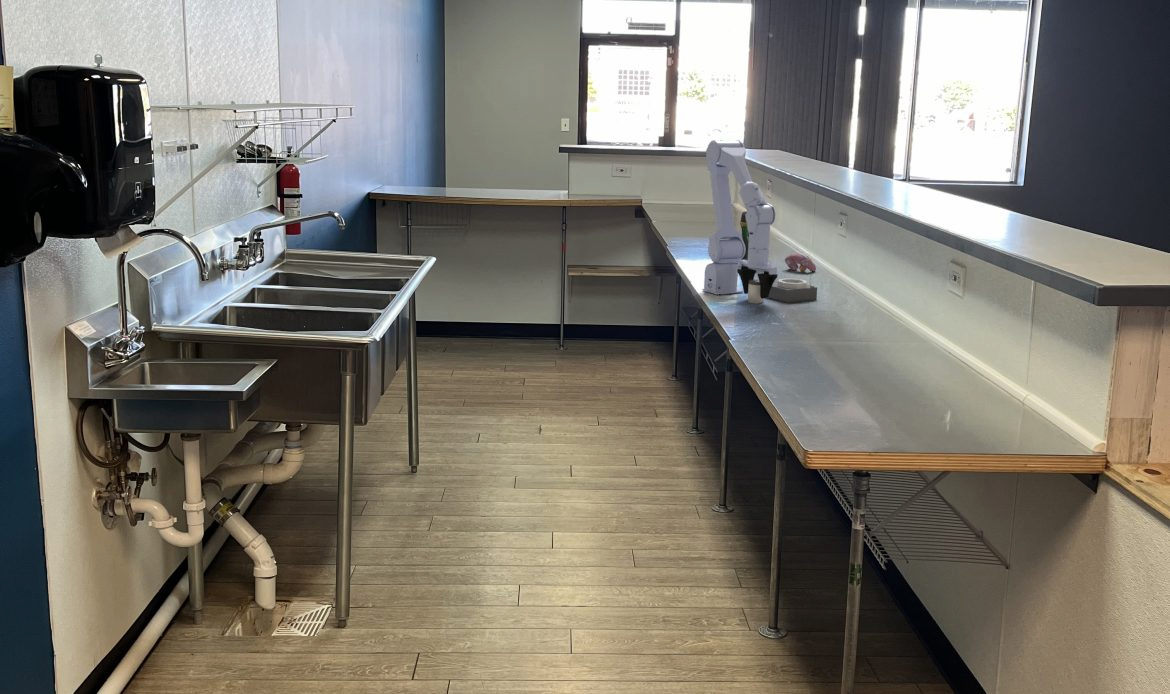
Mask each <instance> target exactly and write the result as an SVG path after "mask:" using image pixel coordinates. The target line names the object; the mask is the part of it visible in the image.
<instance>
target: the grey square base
mask: <svg viewBox="0 0 1170 694" xmlns="http://www.w3.org/2000/svg"><path fill="white" fill-rule="evenodd" d="M817 297H818V287H817V286H815V284H810V285H809V284H808V281H807V280H805V279H800V278H779V279H777V283H776V284H775V283H773V285H772V287H771V290H770V293H769V296H768V298H769V299H773V300H777V301H780V302H783V303H792V302H793V303H795V302H804V301H814V300H817V299H818V298H817Z"/></svg>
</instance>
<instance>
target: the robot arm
mask: <svg viewBox="0 0 1170 694" xmlns="http://www.w3.org/2000/svg"><path fill="white" fill-rule="evenodd" d="M746 154H747V151H746V147H745V145H744V143H743V141H742V140H740V139H737V140H711V141H710V142H709V143H708V145H707V148H706V150H705V156H706V157H705V158H706V166H707V171H709V176H710V187H711V195H712V202H713V212H714V214H713V215H714V220H715V221H714V222H715V230H714V231H713V232H712V234H711V235H709V237H708V248H707V252H708V253H707V254H708V256H709V258H710V260H711V262H712V263H711V262H710V263H708V264H707V265H706V266H705V268H704V278H703V279H704V280H703V283H704V284H703V288H702V289H701V290H702V291H704V292H707V293H709V294H710V293H711V294H714V295H717V294H718V296H719V294H721V295H729V294H730V293H731V294H738V293H739V294H741V293H743V294H745V295H748V286H749V280H755V279H754V278H755V275H756V274H757V277H758V280H759V282H760V297H761V298H762V299H768V298H769V297H768V296H769V293H770V290H771V287H772V285H773V284H775V281H776V279H777V278H778V273H777V271H778V270H777V269H778V267H777V266H774V265H772V263H771V262H769V255H770V254H769V251H770V239H771V237H770V236H771V225H773V223H774V222H775V220H776V211H775V207H774V206H773V205H772V204H770V203H769V201H766V199H765V197H764V195H763V192H762V190H761V188H760V186H759V184H758V183H757V182H753V180H752V177H751V175H750V172H749V168H748V166H747V163H746V156H747V155H746ZM730 173H732V174H733V176H734V177H735V179H736V181H737V183H738V185H739V187H740V188H739V191H738V194H739V196H740V198H741V201H742V203H743V206H744V208H745V209H746V211H747V213H746V222H747V229H748V231H749V244H748V260H741V259H742V258H743V257H744V255H745V251H746V248H745V244H744V242H743V239H742V232H740V231H739V230H738V229H737V228H735V224H734V217H733V216H734V214H733V206H732V197H731V185H730V178H729V174H730ZM757 271H758V272H761V273H757ZM738 277H739V278H740V280H741V284H742V290H741V289H738V282H739V280H738ZM731 294H730V295H731Z"/></svg>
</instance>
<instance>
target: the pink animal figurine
mask: <svg viewBox="0 0 1170 694" xmlns="http://www.w3.org/2000/svg"><path fill="white" fill-rule="evenodd" d="M784 262H785V264H786V265H787V267H788V268H789V269H792V270H793V271H795V270H796V271H797V270H798V269H799V271H800V272H802V271H804V272H806V271H807V270H809V271H810V272H811V271H815V272H816V270H817V267H816V264H815V263H814V262H813V260H812V259H811V258H810V257H809V256H805V255H803V254H800V253H794V254H793V253H791V254H789V255H787V256H786V257H785V259H784Z"/></svg>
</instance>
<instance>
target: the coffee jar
mask: <svg viewBox="0 0 1170 694" xmlns="http://www.w3.org/2000/svg"><path fill="white" fill-rule="evenodd" d="M746 213H747V210H746V211H743V212H742V213H741V217H740V221H739V225H740V229H741V234H742V239H743V242H744V244H745V248H746V251H745V255H744V257H743V258H742V259H741V260H748V244H749V231H748V229H747V222H746Z"/></svg>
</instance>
